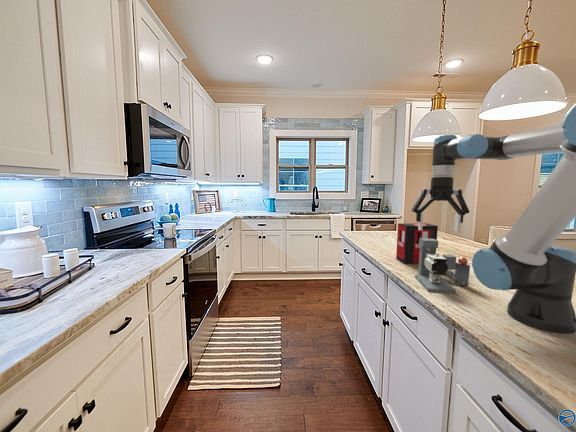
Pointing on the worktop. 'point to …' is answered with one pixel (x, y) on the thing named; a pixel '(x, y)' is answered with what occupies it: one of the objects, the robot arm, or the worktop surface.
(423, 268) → the press
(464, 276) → the lever
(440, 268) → the pneumatic valve
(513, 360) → the worktop surface
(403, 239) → the cleaning product box
